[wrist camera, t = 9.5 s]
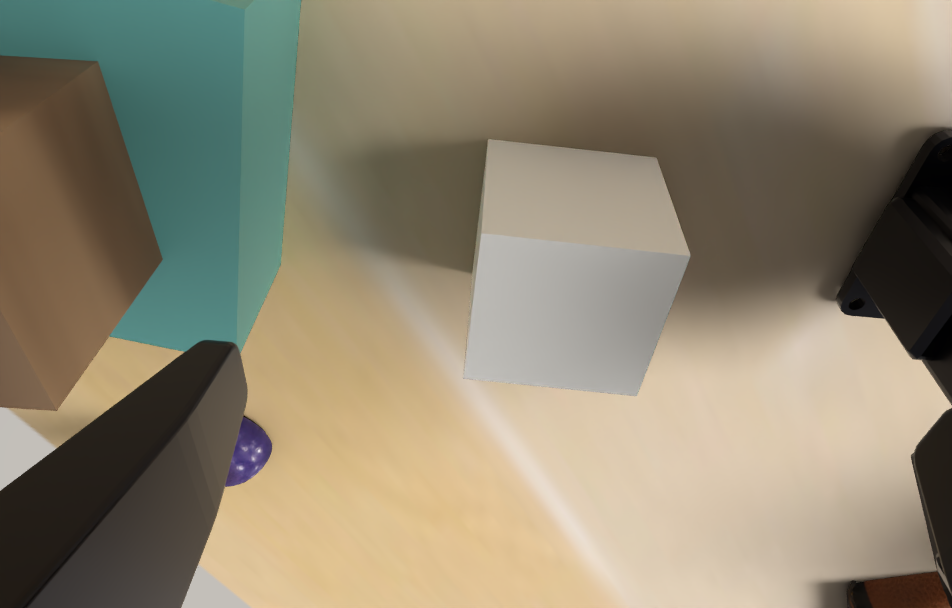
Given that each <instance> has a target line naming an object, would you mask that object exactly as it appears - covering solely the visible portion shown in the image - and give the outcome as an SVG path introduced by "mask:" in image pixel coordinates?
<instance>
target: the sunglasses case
mask: <svg viewBox="0 0 952 608" xmlns="http://www.w3.org/2000/svg"><path fill="white" fill-rule="evenodd" d="M847 603H848V608H951V607H950V605H949V603H948V600H947V596H946V594H945V592H944V590H943V587H942V584H941V581H940V578H939V575H938V572H931V573H922V574H913V575H907V576H898V577H891V578H885V579H875V580H869V581H864V582H859V583H856V581H852V582H851V584H850V586H849V589H848V591H847Z"/></svg>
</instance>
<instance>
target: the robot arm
mask: <svg viewBox="0 0 952 608" xmlns="http://www.w3.org/2000/svg"><path fill="white" fill-rule="evenodd" d="M948 145H951V146H950V148H949V149H948V150H947V151H946V152H945V153H943V154H941V155H938V154H939V152H940V151H941V150H942V148H944V147H946V146H948ZM857 298H858V299H857ZM854 299H857V300H856V301H854V302H851V301H852V300H854ZM836 301H837V304H838V306H839V308H840V309H841V311H842V312H843V313H844V314H847V315H851V316H862V317H873V318H883V319H885V320H886V321H887V323H888V324H889V326H890V327H891V329H892V330H893V332H894V333H895V335H896V336H897V338H898V339H899V341H900V342H901V344H902V345H903V347H904V348H905V350H906V352H907V353H908V355H909V356H910V357H911V358H912V359H916V360H922V362H923V363H924V365H925V366H926V368H927V369H928V371H929V372H930V374H931V375H932V377H933V378H934V380H935V381H936V383H937V384H938V386H939V387H940V389H941V390H942V392H943V393H944V394H945V396H946V397H947V399H948V400H949V402H950V403H951V405H952V130H947V131H941V132H939V133H936V134H934V135H933V136H932V137H930V138H929V139H928V140H927V141H926V142H925V144H924V145H923V147H922V148H921V150H920V152H919V154H918V155H917V157H916V159H915V161H914V162H913V164H912V166H911V168H910V169H909V171H908V173H907V175H906V176H905V178H904V180H903V181H902V183H901V185H900V187H899V188H898V190H897V192H896V194H895V195H894V197H893V199H892V201H891V202H890V203H889V204H888V205H887V207H886V209H885V210H884V212H883V214H882V216H881V217H880V219H879V221H878V223H877V224H876V226H875V228H874V230H873V231H872V233H871V235H870V237H869V238H868V240H867V242H866V244H865V245H864V247H863V249H862V251H861V252H860V254H859V256H858V258H857V259H856V261H855V263H854V265H853V268H852V271H851V272H850V274H849V276H848V277H847V279H846V281H845V283H844V284H843V286H842V288H841V290H840V291H839V293H838V295H837V298H836ZM246 402H247V383H246V378H245V374H244V369H243V364H242V359H241V355H240V351H239V348H238V346H237V345H236V344H235V343H233V342H229V341H217V340H202V341H200V342H198V343H196V344H195V345H194V346H192V347H191V348H190V349H188V350H187V351H186V352H184V353H183V354H182V355H180V356H179V357H178V358H176V359H175V360H174V361H172V362H171V363H170V364H168V365H167V366H166V367H164V368H163V369H162V370H160V371H159V372H158V373H156V374H155V375H154V376H152V377H151V378H150V379H148V380H147V381H146V382H144V383H143V384H142V385H140V386H139V387H138V388H137V389H135V390H134V391H133V392H131V393H130V394H129V395H127V396H126V397H125V398H123V399H122V400H121V401H119V402H118V403H117V404H115V405H114V406H113V407H111V408H110V409H109V410H107V411H106V412H105V413H103V414H102V415H101V416H99V417H98V418H97V419H95V420H94V421H93V422H91V423H90V424H89V425H87V426H86V427H85V428H83V429H82V430H81V431H79V432H78V433H77V434H75V435H74V436H73V437H71V438H70V439H69V440H67V441H66V442H65V443H63V444H62V445H61V446H59V447H58V448H57V449H55V450H54V451H53V452H52V453H50V454H49V455H47V456H46V457H45V458H43V459H42V460H41V461H39V462H38V463H37V464H36V465H34V466H33V467H31V468H30V469H29V470H27V471H26V472H25V473H23V474H22V475H21V476H20V477H18V478H17V479H15V480H14V481H13V482H12V483H10V484H9V485H7V486H6V487H5V488H3V489H2V490H1V491H0V608H181V607H182V604H183V602H184V599H185V596H186V594H187V591H188V589H189V586H190V583H191V581H192V578H193V576H194V573H195V571H196V568H197V566H198V563H199V561H200V558H201V555H202V553H203V550H204V548H205V545H206V543H207V540H208V538H209V535H210V532H211V530H212V527H213V524H214V521H215V518H216V516H217V512H218V509H219V505H220V502H221V498H222V495H223V491H224V487H225V483H226V479H227V476H228V472H229V468H230V464H231V460H232V457H233V453H234V449H235V445H236V441H237V437H238V434H239V430H240V426H241V422H242V418H243V415H244V411H245V407H246ZM911 460H912V464H913V469H914V473H915V477H916V481H917V486H918V490H919V494H920V499H921V503H922V507H923V512H924V516H925V520H926V525H927V529H928V533H929V538H930V542H931V546H932V551H933V555H934V559H935V563H936V568H937V572H938V575H939V578H940V581H941V584H942V587H943V590H944V592H945V594H946V596H947V600H948V603H949V605H950V607H951V608H952V408H951V409H949V410H947V411H946V412H944V413H943V414H942V416H941V417H940V418H939V419H938V420H937V422H936V423H935V424H934V425H933V426H932V428H931V429H930V430H929V431H928V432H927V434H926V435H925V436H924V437H923V438H922V439H921V441H920V442H919V443H918V445H917V446H916V449H915V452H914V453H913V454H912V455H911Z"/></svg>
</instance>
